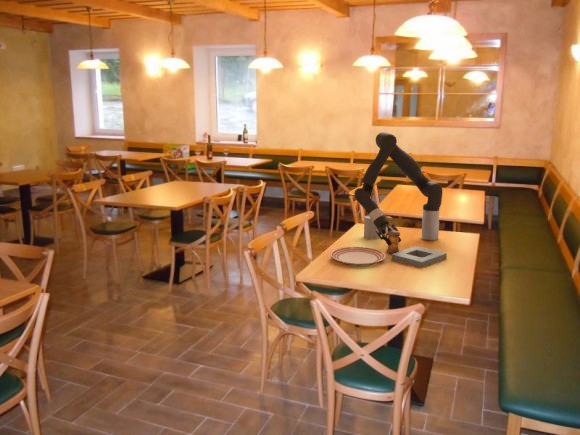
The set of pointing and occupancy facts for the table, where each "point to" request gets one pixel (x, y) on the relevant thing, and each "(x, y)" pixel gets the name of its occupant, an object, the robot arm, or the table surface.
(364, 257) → the dinner plate
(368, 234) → the speckled tan cylinder
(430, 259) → the grey rectangular frame
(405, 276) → the table surface
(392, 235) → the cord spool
